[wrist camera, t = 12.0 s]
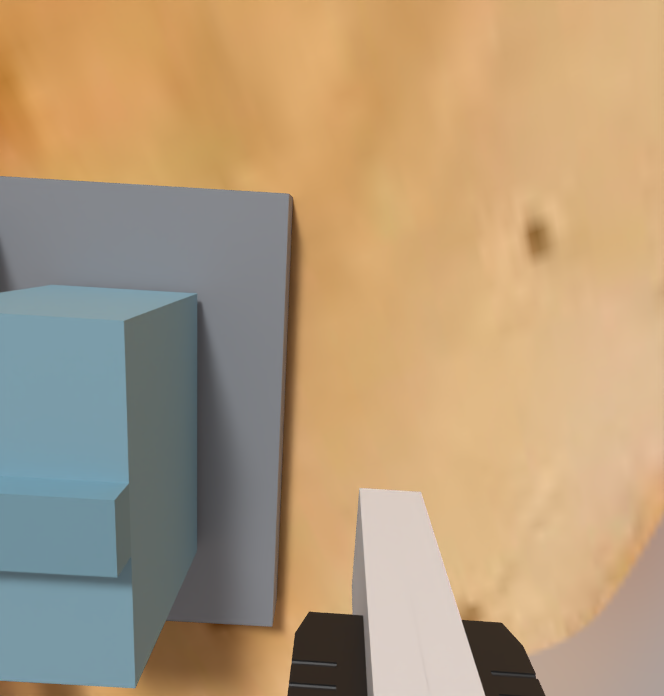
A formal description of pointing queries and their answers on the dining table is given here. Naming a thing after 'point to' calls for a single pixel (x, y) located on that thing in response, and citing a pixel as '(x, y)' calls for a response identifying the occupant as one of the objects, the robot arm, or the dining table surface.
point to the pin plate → (212, 346)
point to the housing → (94, 478)
